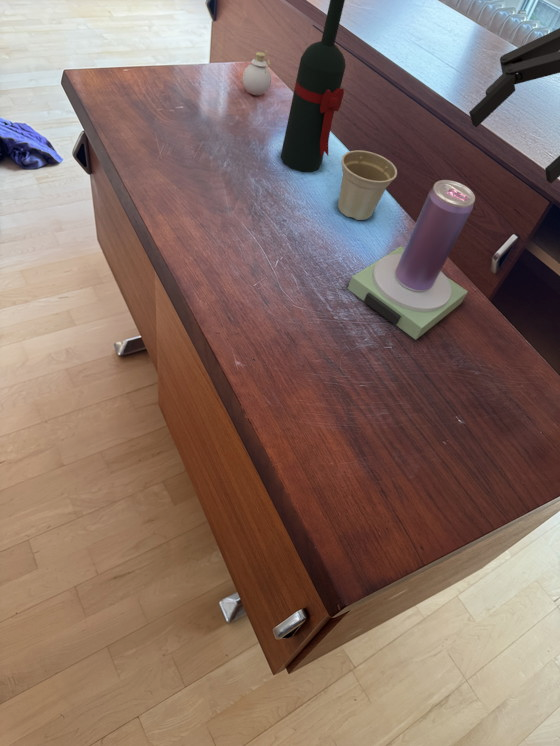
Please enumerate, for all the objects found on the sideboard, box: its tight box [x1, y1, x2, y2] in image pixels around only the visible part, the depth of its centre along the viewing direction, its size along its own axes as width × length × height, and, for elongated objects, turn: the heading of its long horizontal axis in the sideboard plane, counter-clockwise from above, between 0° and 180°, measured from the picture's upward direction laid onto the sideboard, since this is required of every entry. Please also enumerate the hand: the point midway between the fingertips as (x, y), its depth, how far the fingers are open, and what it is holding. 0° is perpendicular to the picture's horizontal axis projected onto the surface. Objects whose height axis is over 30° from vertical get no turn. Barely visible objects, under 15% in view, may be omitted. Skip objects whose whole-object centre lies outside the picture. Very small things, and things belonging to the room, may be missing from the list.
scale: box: [347, 245, 469, 340], centre depth 86 cm, size 13×14×3 cm
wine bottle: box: [279, 0, 347, 173], centre depth 95 cm, size 8×10×30 cm
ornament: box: [242, 48, 272, 96], centre depth 117 cm, size 6×7×10 cm
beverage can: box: [396, 179, 476, 292], centre depth 79 cm, size 6×6×15 cm
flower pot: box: [337, 149, 398, 221], centre depth 96 cm, size 9×9×9 cm
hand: (508, 147), depth 72 cm, fingers open, 13 cm apart
